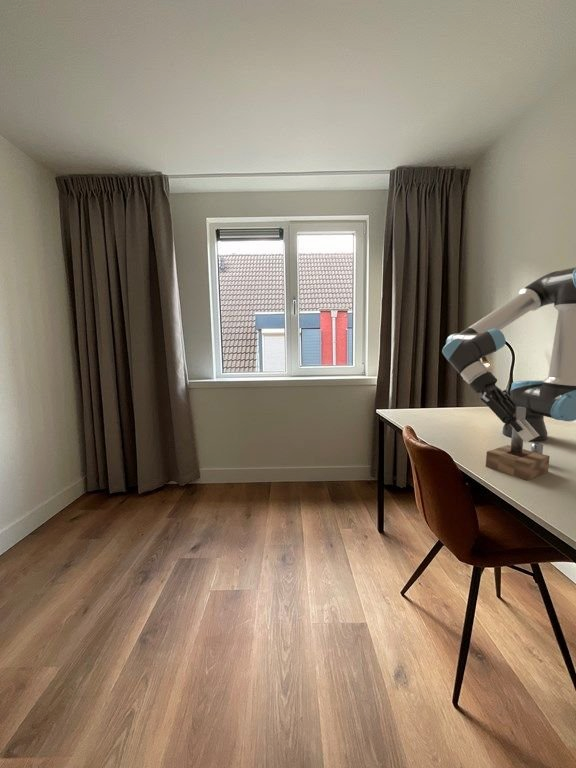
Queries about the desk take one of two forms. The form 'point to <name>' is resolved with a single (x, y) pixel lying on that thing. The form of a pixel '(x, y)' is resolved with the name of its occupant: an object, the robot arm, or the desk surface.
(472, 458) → the desk surface
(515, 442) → the long pin
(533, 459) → the block
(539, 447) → the short pin
